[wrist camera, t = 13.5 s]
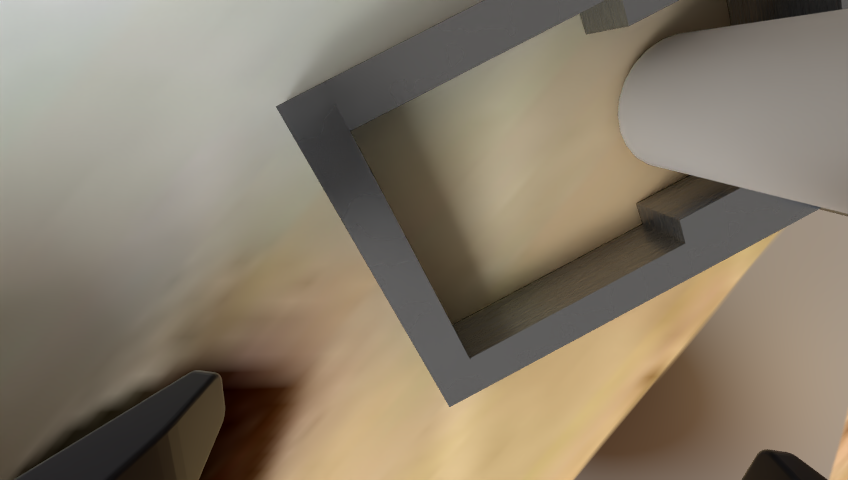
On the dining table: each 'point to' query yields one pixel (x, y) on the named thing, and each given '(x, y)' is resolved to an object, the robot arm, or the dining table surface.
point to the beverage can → (748, 107)
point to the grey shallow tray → (565, 287)
